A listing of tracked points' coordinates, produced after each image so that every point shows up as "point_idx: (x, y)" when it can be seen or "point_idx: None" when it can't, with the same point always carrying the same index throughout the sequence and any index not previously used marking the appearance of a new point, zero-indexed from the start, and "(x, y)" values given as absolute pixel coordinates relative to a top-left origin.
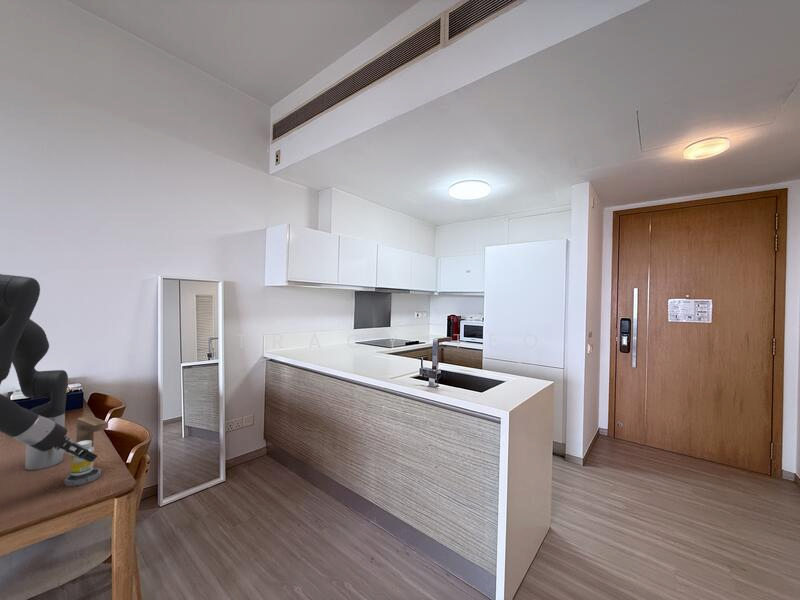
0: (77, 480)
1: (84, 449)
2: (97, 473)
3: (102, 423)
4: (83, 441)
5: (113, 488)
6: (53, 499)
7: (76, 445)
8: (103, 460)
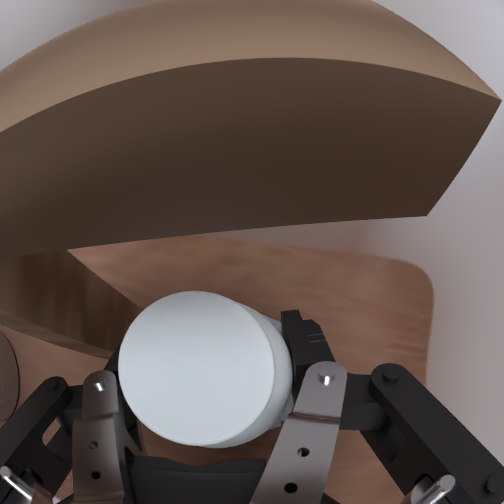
0: (288, 408)
1: (430, 400)
2: (281, 329)
3: (384, 12)
4: (147, 355)
5: (428, 312)
6: (348, 480)
7: (498, 469)
8: (108, 260)
